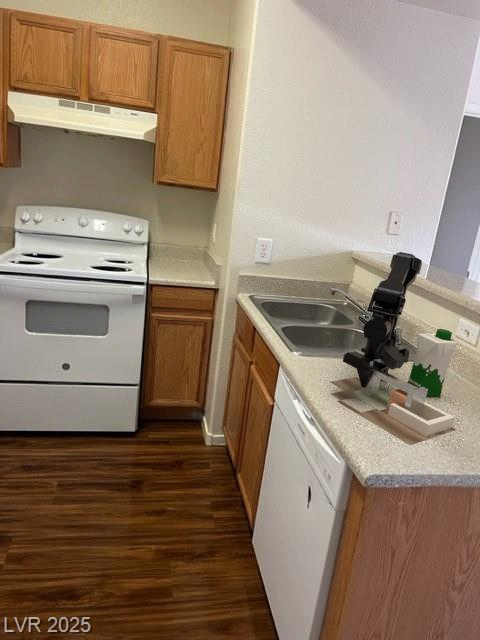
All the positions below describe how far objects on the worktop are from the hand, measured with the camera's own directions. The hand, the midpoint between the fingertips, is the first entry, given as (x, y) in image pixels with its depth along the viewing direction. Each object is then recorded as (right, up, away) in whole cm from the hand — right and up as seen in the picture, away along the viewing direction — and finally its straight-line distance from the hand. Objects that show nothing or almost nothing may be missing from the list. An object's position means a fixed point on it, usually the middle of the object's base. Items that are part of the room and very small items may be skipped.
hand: (367, 386), depth 132 cm
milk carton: (+18, -4, +8) cm, 20 cm away
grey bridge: (+4, -4, -5) cm, 8 cm away
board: (+1, -6, -7) cm, 9 cm away
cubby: (+10, -7, -13) cm, 17 cm away
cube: (+6, -5, -8) cm, 12 cm away
